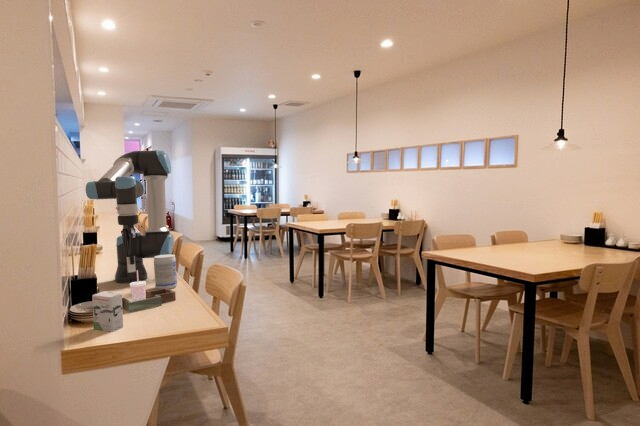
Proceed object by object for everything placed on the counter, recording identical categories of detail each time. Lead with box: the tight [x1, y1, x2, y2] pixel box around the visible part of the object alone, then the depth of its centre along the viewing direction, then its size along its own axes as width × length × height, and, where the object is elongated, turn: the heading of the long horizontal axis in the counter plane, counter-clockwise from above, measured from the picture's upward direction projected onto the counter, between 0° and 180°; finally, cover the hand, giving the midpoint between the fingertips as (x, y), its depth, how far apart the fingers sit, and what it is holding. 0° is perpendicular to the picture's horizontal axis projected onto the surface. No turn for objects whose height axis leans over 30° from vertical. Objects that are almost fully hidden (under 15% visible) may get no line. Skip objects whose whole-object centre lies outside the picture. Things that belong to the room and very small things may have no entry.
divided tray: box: [122, 288, 177, 313], centre depth 172 cm, size 19×26×4 cm
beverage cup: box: [129, 270, 147, 302], centre depth 169 cm, size 6×6×14 cm
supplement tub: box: [153, 253, 178, 290], centre depth 198 cm, size 10×10×15 cm
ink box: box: [92, 290, 124, 333], centre depth 143 cm, size 9×5×12 cm, turn 69°
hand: (131, 271), depth 176 cm, fingers closed
